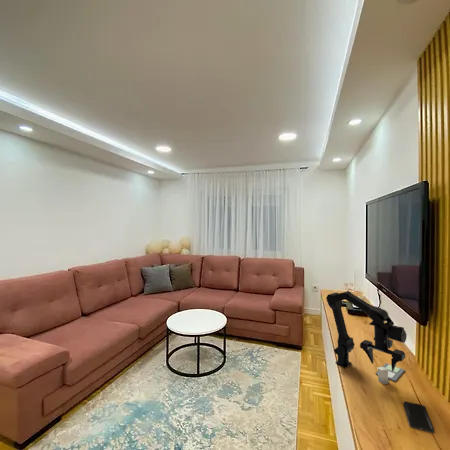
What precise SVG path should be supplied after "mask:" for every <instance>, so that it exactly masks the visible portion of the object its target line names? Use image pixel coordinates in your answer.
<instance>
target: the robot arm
mask: <svg viewBox="0 0 450 450" xmlns="http://www.w3.org/2000/svg"><path fill="white" fill-rule="evenodd" d="M325 300H326V303H327V305H328V307H330V309H331V310H332V314H333V319H334V322H335V326H336V330H337V334H338V337H337V347H335V348H334V349H333V351H334V354H335V355H337V361H335V364H336V365H338V366H341V367H342V368H348V367H350V366H351V365H352V362H351V361H350V357H349V353H351V352H352V350H354V348H355V345H356V344H355V342H354V338H353V337H350V335H349V334H348V331H347V326H346V323H345V320H344V314H343V310H342V306H343V301H344V300H345V301H347V302H349V303H350V304H352V305H353V306H355V307H356V308H357V309H359V310H361V311H363V312H364V313H365V314H367V316H368V318H370V319H371V320H372V321H371V322H369V323H368V324H369V325H370V326H373V328H374V329H373V330H374V337H373V341H374V343H373V342H372V341H371V340H367V339H364V340H363V341H360V344H359V347H360V349H362V351H364V352H365V354H366V355H367V357H368V359H369V361H370V363H371V364H373V365H374V350H375V351H378V352H382V353H385V354H388V355H390V356H391V360H390V361H391V363H390V365H392V371H394V369H395V367H397V364H398V363H399V362H403V360H405V359H406V353H405V352H404V351H403V350H400V349H397V348H396V349H393V350H391V348H392V347H393V342H394V341H396V342H399V343H403V344H404V343H406V341H407V335H408V334H407V332H406V330H405V327H403V326H398V325H395V323H394V321H393V320H392V318H391V317H390V315H389V313H388V311H387V310H385V309H383V308H380V307H379V306H374V305H372V304H370V303H368V302H367V301H365V300H363V299H362V298H360V297H358V296H357V295H355V294H354V293H352V292H351V291H350V290H346V291H343V292H340V293H339V292H337V291H335V292H333V293H329V294H327V295H326V299H325Z"/></svg>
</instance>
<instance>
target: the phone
mask: <svg viewBox="0 0 450 450" xmlns="http://www.w3.org/2000/svg"><path fill="white" fill-rule="evenodd" d="M402 403H403V408H404V411H405V412H404V413H405V415H406V418H407V422H408V426H409V427H410V428H411V429H416V430H419V431H422V432H423V431H424V432H428V433H431V434H433V433H435V429H434V426H433V423H432V421H431V418H430V416H429V413H428V410H427V407H426V406H424V405H423V404H419V403H414V402H412V401H411V402H410V401H406V400H404V401H402Z"/></svg>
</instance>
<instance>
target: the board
mask: <svg viewBox="0 0 450 450" xmlns="http://www.w3.org/2000/svg"><path fill="white" fill-rule="evenodd" d="M381 367H385V368H387V369H388V379H389V381H392V382H393V383H396V381H398V380H399V378H400V377H401V376H402V375H403V374H404V373H405V372H406V371H405V370H406V369H403V368H401V367H399V366H398V367H397V366H395V369H394V371H392V364H391V363H390V364H389V363H386V362H385V363H384V364H383V365H382V366H381ZM375 375H377V376H378V370H377V371H376V372H375Z"/></svg>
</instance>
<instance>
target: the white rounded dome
mask: <svg viewBox="0 0 450 450" xmlns="http://www.w3.org/2000/svg"><path fill="white" fill-rule="evenodd" d="M377 371H378V375H377V380H378V383H381V384H383V385H388V384H389V382H390V380H389V379H388V369H387V368H385V367H382V366H378V367H377Z"/></svg>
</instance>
